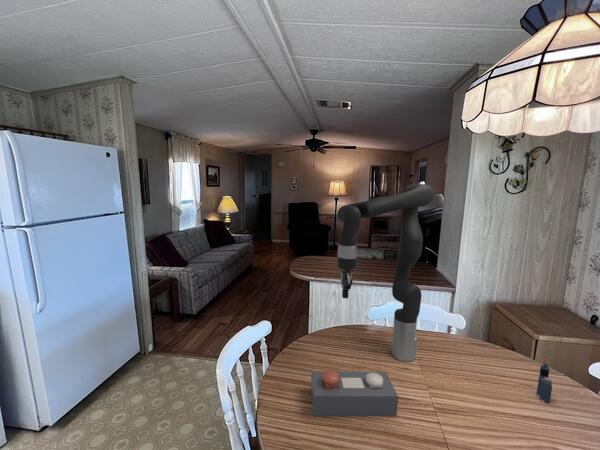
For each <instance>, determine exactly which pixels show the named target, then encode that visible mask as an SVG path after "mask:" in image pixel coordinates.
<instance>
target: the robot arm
mask: <svg viewBox="0 0 600 450" xmlns="http://www.w3.org/2000/svg"><path fill="white" fill-rule="evenodd" d="M434 192H435V191H434V190H433V188H432V187H431V186H430V185H428V184H426V183H425V184H424V183H412V184H408V185H407V186H406V187H404V188H403V191H402V193H397V194H392V195H385V196H379V197H375V198H371V199H368V200H364V201H361V202H353V203H350V204H349V203H348V204H345V205H342V206H341V207H339V209H338V210H337V214H336V215H337V218H338V220H339V221H340V222H342V224H343V225H342V226H343V227H342V229H341V230H340V231H339V233H338V246H337V260H336V261H337V262H336V263H337V264H336V267H337V268H338V269H341V271H340V285H341V289H342V291H341V292H342V294H341V297H342V298H343V299H348V298H349V291H351V288H352V285H353V283H354V282H353V279H352V278H353V273H352V270H355V269H356V268H357V256H358V248H357V247H358V246H357V245H358V244H357V243H358V233H359V230H360V226H361V221H362V219H370V218H371V219H372V218H374V217H378V216H381V215H385V214H388V213H392V212H396V211H400V210H401V225H400V234H399V235H400V236H399V242H398V243H399V244H398V253H397V261H396V269H395V273H394V278H393V284H392V288H391V294H392V297H393V298H394V299H395V300H396V301H397V302H399V303H401V304H403V305H402V308H397V309H396V310H394V315H393V328H392V341H391V342H392V344H391V345H392V346H391V355H392V357H393V358H394V359H395V360H398V361H401V362H407V363H408V362H411V361H414V360H415V361H416V358H417V347H418V338H417V337H416V334H417V323H418V317H419V315H420V309H421V302H422V291H421V289H420V287H419V286H418V285H415V284H413V283H411V282H410V280H409V279H410V273H411V270H412V268H413V267H414V266H415V264H416V263H417V262H418V260H419V259H420V257H421V256H422V252H423V245H424V244H423V243H424V236H423V232H422V228H421V225H420V222H419V208H420V207H421V208H422V207H427V206H428V205H430V204H431V203H432V202H433V200H434V195H435V193H434Z"/></svg>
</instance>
